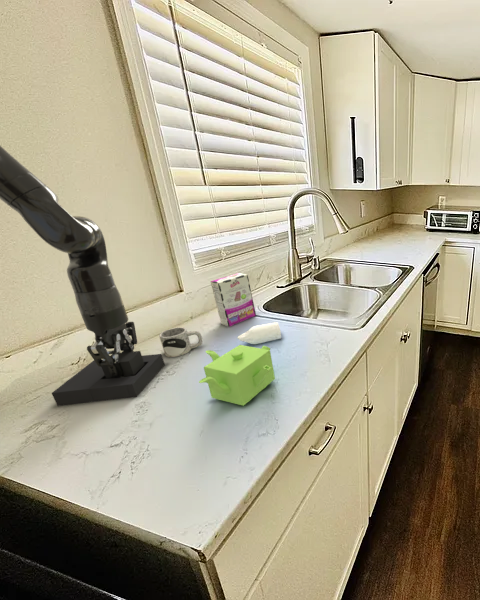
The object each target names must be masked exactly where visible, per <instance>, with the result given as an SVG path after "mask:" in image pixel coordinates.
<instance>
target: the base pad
mask: <svg viewBox="0 0 480 600" xmlns="http://www.w3.org/2000/svg"><path fill="white" fill-rule="evenodd" d="M142 358H143V361H144V364H145V365H144V366H143V367H142V368H141V369H140V370H139V371H138V372H137V373H136V374H135V375H132V376H122V377H113V378H106V377H105V375H104V372H103V370H102V367H101V366H100V367H99V366H98V365H97V364H96V362H95V361H94V360H92V361H91V362H90V363H88V364H87V365H85V366H84V367H83V368H82V369H80V370H79V371H78V372H77V373H76V374H74V375H73V376H72V377H70V378H69V379H67V380H66V381H65V382H64V383H62V384H61V385H60V386H59V387H57V388H56V389H55V390H53V391H52V392H51V395H52V398H53V400H54V402H55V405H57V407H62V406H70V405H80V404H87V403H88V404H89V403H96V402H104V401H114V400H121V399H122V400H123V399H131V398H137V397H138V396H139V395H140V394H141V393H142V392H144V390H145V389H146V387H148V385H149V384H150V383H152V381H153V380H154V378H155V377H156V376H157V375H158V374H159V373H160V371H161V370H162V369H163V368H164V367H165V366H166V365H165V364H166V363H165V361H164V358H163V354H162V353H155V354H145V355H142ZM102 361H103V359H102Z"/></svg>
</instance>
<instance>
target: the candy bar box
mask: <svg viewBox="0 0 480 600" xmlns="http://www.w3.org/2000/svg"><path fill="white" fill-rule="evenodd" d="M210 284H211V289H212V292H213V297H214V301H215V304H216V308H217V313H218V317H219V320H220V324H221V325H222V326H225V327H228V328H231V327H233V326H234V325H237V324H239V323H242V322H244V321H247V320H250V319H251V318H254V317H257V314H256V307H255V303H254V299H253V294H252V289H251V285H250V279H249V274H248V273H245V272H244V273H243V272H238V273H234V274H231V275H227V276H223V277H220V278H216V279H213V280H210Z"/></svg>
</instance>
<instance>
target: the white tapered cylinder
mask: <svg viewBox="0 0 480 600" xmlns="http://www.w3.org/2000/svg"><path fill="white" fill-rule="evenodd" d="M236 339H238V340H239V342H245V343H248V344H251V345H259V344H263V343H268V342H272V341H277V340H281V339H282V331H281V328H280V324H279V322H278V321H275V322H269V323H263V324H258V325H257V324H256V325H253V326H251V327H250V328H249V329H248V330H246V331H245V332H244V333H241V334H240V335H238V336H237V338H236Z"/></svg>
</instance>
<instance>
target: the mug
mask: <svg viewBox="0 0 480 600" xmlns="http://www.w3.org/2000/svg"><path fill="white" fill-rule="evenodd" d="M158 335H159V340H160V343H161V346H162V350H163V352H164V355H165V357H167V358H176V357H180V356H183V355H186V354H188V353H189V352H190V351H192V349H195V348H197V347H200V346H202V345H203V342H204V340H203V336H202V334H201V332H200V331H195V330H188V329H187V327H182V326H181V327H179V326H177V327H171V328H168V329H165V330H163V331H161V332H160V333H159V334H158ZM191 336H197V340H198V342H196V343H195V342H194V343H191V341H190V337H191Z"/></svg>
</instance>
